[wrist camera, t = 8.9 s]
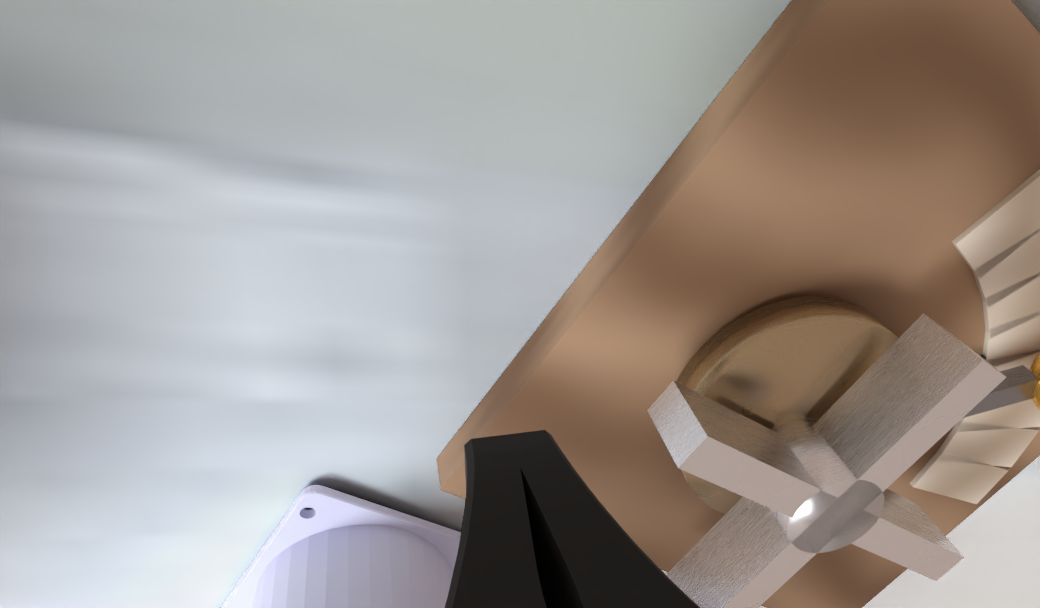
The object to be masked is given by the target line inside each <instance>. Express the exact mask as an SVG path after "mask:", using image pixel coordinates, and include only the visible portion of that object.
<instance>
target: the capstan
mask: <svg viewBox="0 0 1040 608" xmlns="http://www.w3.org/2000/svg"><path fill="white" fill-rule="evenodd" d="M1029 399H1032V401H1033V402H1034V404H1035V405H1036V406H1037V408H1038V409H1039V410H1040V353H1039V354H1038V355H1037V357H1036V358H1035V359H1034V360H1033V362H1032V364H1031V366H1030V368H1029V369H1027V368H1026V367H1025V366H1023V365H1021V366H1018V367H1014V368H1010V369H1007V370H1003V371H998V370H997V369H996V368H995V367H993V366H992V365H991V364H990V363H988V362H987V361H986V360H984V359H983V358H982V357H981V356H979V355H978V354H977V353H976V352H974V351H973V350H972V349H971V348H969V347H968V346H967V345H966V344H964V343H963V342H962V341H960V340H959V339H958V338H957V337H955V336H954V335H953V334H952V333H950V332H949V331H948V330H947V329H945V328H944V327H942V326H941V325H939V324H938V323H937V322H935V321H934V320H932V319H931V318H930V317H928V316H927V315H925V314H924V313H923V314H922V315H921V316H920V317H919V318H918V319H917V320H916V321H915V322H914V323H913V324H912V325H911V326H910V327H909V328H908V329H907V330H906V331H905V332H904V333H903V334H902V335H901V336H900V337H899V338H898V337H897V336H896V335H895V334H893V333H892V332H891V331H890V330H889V329H888V328H887V327H885V326H884V325H883V324H882V323H881V322H880V321H879V320H877V319H876V318H875V317H874V316H873V315H872V314H870V313H869V312H868V311H867V310H865V309H864V308H862V307H860V306H859V305H857V304H855V303H853V302H850V301H847V300H844V299H840V298H835V297H829V296H804V297H795V298H790V299H785V300H781V301H778V302H774V303H771V304H768V305H765V306H763V307H760V308H758V309H756V310H754V311H751V312H749V313H747V314H745V315H744V316H742V317H740V318H738V319H737V320H735V321H733V322H732V323H730V324H729V325H727V326H726V327H724V328H723V329H722V330H720V331H719V332H718V333H716V334H715V335H714V336H713V337H712V338H711V339H709V340H708V341H707V342H706V343H705V344H704V345H703V346H702V347H701V348H700V349H699V350H698V351H697V352H696V353H695V355H694V356H693V357H692V358H691V360H690V361H689V362H688V363H687V365H686V366H685V368H684V369H683V371H682V372H681V374H680V376H679V377H678V379H677V381H674V380H673V381H672V382H671V384H670V385H669V386H668V387H667V388H666V389H665V390H664V392H663V393H662V394H661V395H660V396H659V397H658V399H657V400H656V401H655V402H654V403H653V404H652V405H651V407H650V408H649V409H648V410H647V411H648V413H649V415H650V417H651V418H652V420H653V422H654V424H655V426H656V428H657V430H658V432H659V433H660V435H661V437H662V439H663V441H664V443H665V445H666V447H667V449H668V450H669V452H670V454H671V456H672V458H673V460H674V462H675V464H676V465H677V467H678V468H679V469H681V471H682V473H683V475H684V477H685V478H686V480H687V482H688V484H689V486H690V487H691V489H692V490H693V492H694V493H695V494H696V495H697V496H698V498H699V499H700V500H701V501H703V502H704V503H705V504H707V505H708V506H709V507H711V508H713V509H715V510H717V511H719V512H722V513H725V515H724V516H723V517H722V518H721V519H720V520H719V521H718V522H717V523H716V524H715V525H714V526H713V527H712V528H711V529H710V530H709V531H708V532H707V533H706V534H705V535H704V536H703V537H702V539H701V540H700V541H699V542H698V543H697V544H696V545H695V546H694V547H693V548H692V549H691V550H690V551H689V552H688V553H687V554H686V555H685V556H684V557H683V558H682V559H681V560H680V561H679V562H678V563H677V564H676V565H675V566H674V567H673V568H672V569H671V570H670V571H669V572H668V573H667V574H666V576H667V577H668V578H669V579H670V580H671V581H672V582H673V583H674V584H675V585H677V586H678V587H679V588H680V589H681V590H682V591H683V592H684V593H685V594H686V595H687V596H688V597H689V598H690V599H691V600H693V601H694V602H695V603H696V604H697V605H698V606H699V607H700V608H759V607H760V606H761V605H762V604H763V603H764V602H765V601H766V600H767V599H768V598H769V597H770V596H772V595H773V594H774V593H775V592H776V591H777V590H778V589H779V588H780V587H781V586H782V585H783V584H784V583H786V582H787V581H788V580H789V579H790V578H791V577H792V576H793V575H794V574H795V573H796V572H797V571H798V570H800V569H801V568H802V567H803V566H804V565H805V564H806V563H807V562H808V561H809V560H810V559H811V558H812V557H814V556H815V555H816V554H817V553H824V552H830V551H834V550H837V549H840V548H842V547H845V546H847V545H849V544H853V545H856V546H858V547H860V548H862V549H865V550H867V551H869V552H872V553H874V554H876V555H878V556H881V557H883V558H885V559H888V560H890V561H892V562H895V563H897V564H899V565H901V566H904V567H906V568H908V569H911V570H913V571H915V572H918V573H920V574H922V575H924V576H927V577H929V578H931V579H934V580H936V581H937V580H938V579H939V578H940V577H941V576H942V575H944V574H945V573H946V572H947V571H948V570H950V569H951V568H952V567H953V566H954V565H956V564H957V563H958V562H959V561H960V560H961V559H963V558H964V557H963V556H962V555H961V554H960V552H959V551H958V550H957V549H956V548H955V547H954V546H953V544H952V543H951V542H950V541H949V540H948V539H947V538H946V536H945V535H944V534H943V533H942V532H941V531H940V530H939V528H938V527H937V526H936V525H935V524H934V523H933V522H932V520H931V519H930V518H929V517H928V516H927V515H926V514H925V512H924V511H923V510H922V509H921V508H920V507H919V506H918V504H917V503H915V502H913V501H911V500H909V499H907V498H905V497H903V496H901V495H899V494H897V493H895V492H893V491H891V490H889V489H887V488H888V487H889V486H890V485H891V484H892V483H893V482H894V481H895V480H896V479H898V478H899V477H900V476H901V475H902V474H903V473H904V472H905V471H906V470H907V469H908V468H909V467H910V466H912V465H913V464H914V463H915V462H916V461H917V460H918V459H919V458H920V457H921V456H922V455H923V454H924V453H925V452H927V451H928V450H929V449H930V448H931V447H932V446H933V445H934V444H935V443H936V442H937V441H938V440H939V439H941V438H942V437H943V436H944V435H945V434H946V433H947V432H948V431H949V430H950V429H951V428H952V427H953V426H955V425H956V424H957V423H958V422H959V421H960V420H961V419H962V418H965V417H969V416H972V415H976V414H979V413H983V412H986V411H990V410H994V409H997V408H1001V407H1004V406H1008V405H1011V404H1015V403H1019V402H1022V401H1026V400H1029Z"/></svg>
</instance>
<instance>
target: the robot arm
mask: <svg viewBox="0 0 1040 608" xmlns="http://www.w3.org/2000/svg"><path fill="white" fill-rule="evenodd" d="M464 452H465V476H466V500H465V509H464V516H463V523H462V529H461V532H459V531H456V530H453V529H450V528H447V527H444V526H441V525H438V524H435V523H432V522H429V521H426V520H423V519H420V518H417V517H414V516H411V515H408V514H405V513H402V512H399V511H396V510H393V509H390V508H387V507H384V506H381V505H378V504H375V503H372V502H369V501H366V500H363V499H360V498H357V497H354V496H351V495H348V494H345V493H342V492H339V491H337V490H334V489H331V488H328V487H325V486H321V485H310V486H308V487H306V488H304V489H303V490H302V491H301V493H300V494H299V496H298V497H297V498H296V500H295V501H294V503H293V504H292V506H291V507H290V508H289V510H288V511H287V513H286V514H285V516H284V517H283V518H282V520H281V521H280V523H279V524H278V526H277V527H276V528H275V530H274V531H273V533H272V534H271V536H270V537H269V538H268V540H267V541H266V543H265V544H264V545H263V547H262V548H261V550H260V551H259V553H258V554H257V555H256V557H255V558H254V560H253V561H252V563H251V564H250V565H249V567H248V568H247V570H246V571H245V573H244V574H243V575H242V577H241V578H240V580H239V581H238V583H237V584H236V585H235V587H234V588H233V590H232V591H231V593H230V594H229V595H228V597H227V598H226V600H225V601H224V603H223V604H222V605H221V607H220V608H700V607H699V606H698V605H697V604H696V603H695V602H694V601H693V600H691V599H690V598H689V597H688V596H687V595H686V594H685V593H684V592H683V591H682V590H681V589H680V588H679V587H678V586H677V585H675V584H674V583H673V582H672V581H671V580H670V579H669V578H668V577H667V576H666V575H665V574H664V573H663V572H662V571H661V570H660V569H659V568H658V567H657V565H656V564H655V563H654V562H653V561H652V560H651V559H650V558H649V557H648V556H647V555H646V554H645V553H644V552H643V551H642V550H641V549H640V548H639V547H638V545H637V544H636V543H635V542H634V541H633V540H632V539H631V538H630V537H629V535H628V534H627V533H626V532H625V531H624V530H623V529H622V527H621V526H620V525H619V524H618V523H617V522H616V520H615V519H614V518H613V517H612V516H611V514H610V513H609V512H608V511H607V510H606V509H605V507H604V506H603V505H602V504H601V503H600V501H599V500H598V499H597V498H596V496H595V495H594V494H593V493H592V491H591V490H590V489H589V488H588V486H587V485H586V484H585V482H584V481H583V480H582V478H581V477H580V476H579V474H578V473H577V472H576V470H575V469H574V468H573V466H572V465H571V463H570V462H569V461H568V459H567V458H566V456H565V455H564V454H563V452H562V451H561V449H560V448H559V446H558V445H557V443H556V442H555V440H554V438H553V437H552V435H551V434H550V433H548V432H547V431H546V430H539V431H531V432H523V433H515V434H507V435H498V436H490V437H482V438H474V439H470V440H469V441H468V442H467V443H466V444H465V445H464ZM307 507H309V508H313V509H311V510H305V509H303V508H307Z"/></svg>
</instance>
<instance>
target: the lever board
mask: <svg viewBox="0 0 1040 608" xmlns="http://www.w3.org/2000/svg"><path fill="white" fill-rule="evenodd" d="M804 296H829V297H835V298H840V299H844V300H847V301H850V302H853V303H855V304H857V305H859V306H860V307H862V308H864V309H865V310H867V311H868V312H869V313H870V314H872V315H873V316H874V317H875V318H876V319H877V320H879V321H880V322H881V323H882V324H883V325H884V326H885V327H887V328H888V329H889V330H890V331H891V332H892V333H893V334H895V335H896V336H897V337H898V338H899V337H900V336H901V335H902V334H903V333H904V332H905V331H906V330H907V329H908V328H909V327H910V326H911V325H912V324H913V323H914V322H915V321H916V320H917V319H918V318H919V317H920V316H921V315H922V314H923V313H924V314H925V315H927V316H928V317H930V318H931V319H932V320H934V321H935V322H937V323H938V324H939V325H941V326H942V327H944V328H945V329H947V330H948V331H949V332H950V333H952V334H953V335H954V336H955V337H957V338H958V339H959V340H960V341H962V342H963V343H964V344H966V345H967V346H968V347H969V348H971V349H972V350H973V351H974V352H976V353H977V354H978V355H979V356H981V357H982V358H983V359H984V360H986V361H987V362H988V363H990V364H991V365H992V366H993V367H995V368H996V369H997V370H998V371H1003V370H1007V369H1010V368H1014V367H1018V366H1021V365H1023V366H1025V367H1026V368H1027V369H1029V368H1030V366H1031V364H1032V362H1033V360H1034V359H1035V358H1036V357H1037V355H1038V354H1039V353H1040V33H1039V32H1038V31H1037V30H1036V29H1035V27H1034V26H1033V25H1032V24H1031V23H1030V22H1029V20H1028V19H1027V18H1026V17H1025V16H1024V15H1023V13H1022V12H1021V11H1020V10H1019V9H1018V8H1017V7H1016V5H1015V4H1014V3H1013V2H1012V1H1011V0H792V1H791V2H790V3H789V5H788V6H787V7H786V8H785V10H784V11H783V12H782V14H781V15H780V16H779V17H778V19H777V20H776V21H775V23H774V24H773V25H772V27H771V28H770V29H769V30H768V32H767V33H766V34H765V36H764V37H763V38H762V39H761V41H760V42H759V43H758V45H757V46H756V47H755V48H754V50H753V51H752V52H751V54H750V55H749V56H748V58H747V59H746V60H745V61H744V63H743V64H742V65H741V67H740V68H739V69H738V70H737V72H736V73H735V74H734V76H733V77H732V78H731V79H730V81H729V82H728V83H727V85H726V86H725V87H724V88H723V90H722V91H721V92H720V94H719V95H718V96H717V98H716V99H715V100H714V101H713V103H712V104H711V105H710V107H709V108H708V109H707V110H706V112H705V113H704V114H703V116H702V117H701V118H700V119H699V121H698V122H697V123H696V125H695V126H694V127H693V128H692V130H691V131H690V132H689V134H688V135H687V136H686V138H685V139H684V140H683V141H682V143H681V144H680V145H679V147H678V148H677V149H676V150H675V152H674V153H673V154H672V156H671V157H670V158H669V159H668V161H667V162H666V163H665V165H664V166H663V167H662V168H661V170H660V171H659V172H658V174H657V175H656V176H655V178H654V179H653V180H652V181H651V183H650V184H649V185H648V187H647V188H646V189H645V190H644V192H643V193H642V194H641V196H640V197H639V198H638V199H637V201H636V202H635V203H634V205H633V206H632V207H631V209H630V210H629V211H628V212H627V214H626V215H625V216H624V218H623V219H622V220H621V221H620V223H619V224H618V225H617V227H616V228H615V229H614V230H613V232H612V233H611V234H610V236H609V237H608V238H607V239H606V241H605V242H604V243H603V245H602V246H601V247H600V249H599V250H598V251H597V252H596V254H595V255H594V256H593V258H592V259H591V260H590V261H589V263H588V264H587V265H586V267H585V268H584V269H583V270H582V272H581V273H580V274H579V276H578V277H577V278H576V279H575V281H574V282H573V283H572V285H571V286H570V287H569V289H568V290H567V291H566V292H565V294H564V295H563V296H562V298H561V299H560V300H559V301H558V303H557V304H556V305H555V307H554V308H553V309H552V310H551V312H550V313H549V314H548V316H547V317H546V318H545V319H544V321H543V322H542V323H541V325H540V326H539V327H538V329H537V330H536V331H535V332H534V334H533V335H532V336H531V338H530V339H529V340H528V341H527V343H526V344H525V345H524V347H523V348H522V349H521V350H520V352H519V353H518V354H517V356H516V357H515V358H514V359H513V361H512V362H511V363H510V365H509V366H508V367H507V369H506V370H505V371H504V372H503V374H502V375H501V376H500V378H499V379H498V380H497V381H496V383H495V384H494V385H493V387H492V388H491V389H490V390H489V392H488V393H487V394H486V396H485V397H484V398H483V400H482V401H481V402H480V403H479V405H478V406H477V407H476V409H475V410H474V411H473V412H472V414H471V415H470V416H469V418H468V419H467V420H466V421H465V423H464V424H463V425H462V427H461V428H460V429H459V430H458V432H457V433H456V434H455V436H454V437H453V438H452V440H451V441H450V442H449V443H448V445H447V446H446V447H445V449H444V450H443V451H442V452H441V454H440V455H439V456H438V458H437V465H438V473H439V480H440V487H441V490H442V491H445V492H448V493H451V494H453V495H456V496H459V497H462V498H465V499H466V476H465V452H464V445H465V444H466V443H467V442H468V441H469V440H470V439H474V438H482V437H490V436H498V435H507V434H515V433H523V432H531V431H539V430H546V431H547V432H548V433H550V434H551V435H552V437H553V438H554V440H555V442H556V443H557V445H558V446H559V448H560V449H561V451H562V452H563V454H564V455H565V456H566V458H567V459H568V461H569V462H570V463H571V465H572V466H573V468H574V469H575V470H576V472H577V473H578V474H579V476H580V477H581V478H582V480H583V481H584V482H585V484H586V485H587V486H588V488H589V489H590V490H591V491H592V493H593V494H594V495H595V496H596V498H597V499H598V500H599V501H600V503H601V504H602V505H603V506H604V507H605V509H606V510H607V511H608V512H609V513H610V514H611V516H612V517H613V518H614V519H615V520H616V522H617V523H618V524H619V525H620V526H621V527H622V529H623V530H624V531H625V532H626V533H627V534H628V535H629V537H630V538H631V539H632V540H633V541H634V542H635V543H636V544H637V545H638V547H639V548H640V549H641V550H642V551H643V552H644V553H645V554H646V555H647V556H648V557H649V558H650V559H651V560H652V561H653V562H654V563H655V564H656V565H657V567H658V568H659V569H661V570H664V571H667V572H669V571H670V570H671V569H672V568H673V567H674V566H675V565H676V564H677V563H678V562H679V561H680V560H681V559H682V558H683V557H684V556H685V555H686V554H687V553H688V552H689V551H690V550H691V549H692V548H693V547H694V546H695V545H696V544H697V543H698V542H699V541H700V540H701V539H702V537H703V536H704V535H705V534H706V533H707V532H708V531H709V530H710V529H711V528H712V527H713V526H714V525H715V524H716V523H717V522H718V521H719V520H720V519H721V518H722V517H723V516H724V515H725V513H722V512H719V511H717V510H715V509H713V508H711V507H709V506H708V505H707V504H705V503H704V502H703V501H701V500H700V499H699V498H698V496H697V495H696V494H695V493H694V492H693V490H692V489H691V487H690V486H689V484H688V482H687V480H686V478H685V477H684V475H683V473H682V471H681V469H679V468H678V467H677V465H676V464H675V462H674V460H673V458H672V456H671V454H670V452H669V450H668V449H667V447H666V445H665V443H664V441H663V439H662V437H661V435H660V433H659V432H658V430H657V428H656V426H655V424H654V422H653V420H652V418H651V417H650V415H649V413H648V411H647V410H648V409H649V408H650V407H651V405H652V404H653V403H654V402H655V401H656V400H657V399H658V397H659V396H660V395H661V394H662V393H663V392H664V390H665V389H666V388H667V387H668V386H669V385H670V384H671V382H672V381H673V380H674V381H677V379H678V377H679V376H680V374H681V372H682V371H683V369H684V368H685V366H686V365H687V363H688V362H689V361H690V360H691V358H692V357H693V356H694V355H695V353H696V352H697V351H698V350H699V349H700V348H701V347H702V346H703V345H704V344H705V343H706V342H707V341H708V340H709V339H711V338H712V337H713V336H714V335H715V334H716V333H718V332H719V331H720V330H722V329H723V328H724V327H726V326H727V325H729V324H730V323H732V322H733V321H735V320H737V319H738V318H740V317H742V316H744V315H745V314H747V313H749V312H751V311H754V310H756V309H758V308H760V307H763V306H765V305H768V304H771V303H774V302H778V301H781V300H785V299H790V298H795V297H804ZM1039 455H1040V410H1039V409H1038V408H1037V406H1036V405H1035V404H1034V402H1033V401H1032V399H1029V400H1026V401H1022V402H1019V403H1015V404H1011V405H1008V406H1004V407H1001V408H997V409H994V410H990V411H986V412H983V413H979V414H976V415H972V416H969V417H965V418H962V419H961V420H960V421H959V422H958V423H957V424H956V425H955V426H953V427H952V428H951V429H950V430H949V431H948V432H947V433H946V434H945V435H944V436H943V437H942V438H941V439H939V440H938V441H937V442H936V443H935V444H934V445H933V446H932V447H931V448H930V449H929V450H928V451H927V452H925V453H924V454H923V455H922V456H921V457H920V458H919V459H918V460H917V461H916V462H915V463H914V464H913V465H912V466H910V467H909V468H908V469H907V470H906V471H905V472H904V473H903V474H902V475H901V476H900V477H899V478H898V479H896V480H895V481H894V482H893V483H892V484H891V485H890V486H889V487H888V488H887V489H889V490H891V491H893V492H895V493H897V494H899V495H901V496H903V497H905V498H907V499H909V500H911V501H913V502H915V503H917V504H918V506H919V507H920V508H921V509H922V510H923V511H924V512H925V514H926V515H927V516H928V517H929V518H930V519H931V520H932V522H933V523H934V524H935V525H936V526H937V527H938V528H939V530H940V531H941V532H942V533H943V534H944V535H945V536H946V535H947V534H948V533H949V532H951V531H952V530H953V529H954V528H955V527H956V526H958V525H959V524H960V523H961V522H962V521H963V520H965V519H966V518H967V517H968V516H969V515H970V514H972V513H973V512H974V511H975V510H976V509H977V508H979V507H980V506H981V505H982V504H983V503H984V502H986V501H987V500H988V499H989V498H990V497H991V496H993V495H994V494H995V493H996V492H997V491H998V490H1000V489H1001V488H1002V487H1003V486H1004V485H1005V484H1007V483H1008V482H1009V481H1010V480H1011V479H1012V478H1014V477H1015V476H1016V475H1017V474H1018V473H1019V472H1021V471H1022V470H1023V469H1024V468H1025V467H1026V466H1028V465H1029V464H1030V463H1031V462H1032V461H1033V460H1035V459H1036V458H1037V457H1038V456H1039ZM906 569H907V568H906V567H904V566H901V565H899V564H897V563H895V562H892V561H890V560H888V559H885V558H883V557H881V556H878V555H876V554H874V553H872V552H869V551H867V550H865V549H862V548H860V547H858V546H856V545H853V544H849V545H847V546H845V547H842V548H840V549H837V550H834V551H830V552H824V553H817V554H816V555H815V556H814V557H812V558H811V559H810V560H809V561H808V562H807V563H806V564H805V565H804V566H803V567H802V568H801V569H800V570H798V571H797V572H796V573H795V574H794V575H793V576H792V577H791V578H790V579H789V580H788V581H787V582H786V583H784V584H783V585H782V586H781V587H780V588H779V589H778V590H777V591H776V592H775V593H774V594H773V595H772V596H770V597H769V598H768V599H767V600H766V601H765V602H764V603H763V604H762V605H761V606H764V607H767V608H862V607H863V606H864V605H865V604H866V603H868V602H869V601H870V600H871V599H872V598H873V597H875V596H876V595H877V594H878V593H879V592H880V591H882V590H883V589H884V588H885V587H886V586H887V585H889V584H890V583H891V582H892V581H893V580H894V579H896V578H897V577H898V576H899V575H900V574H901V573H903V572H904V571H905V570H906Z"/></svg>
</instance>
